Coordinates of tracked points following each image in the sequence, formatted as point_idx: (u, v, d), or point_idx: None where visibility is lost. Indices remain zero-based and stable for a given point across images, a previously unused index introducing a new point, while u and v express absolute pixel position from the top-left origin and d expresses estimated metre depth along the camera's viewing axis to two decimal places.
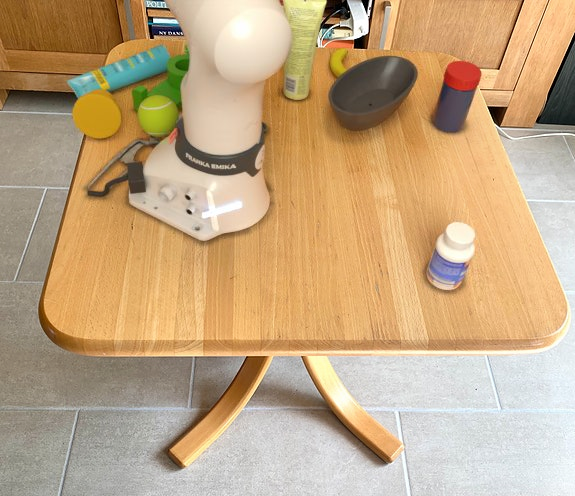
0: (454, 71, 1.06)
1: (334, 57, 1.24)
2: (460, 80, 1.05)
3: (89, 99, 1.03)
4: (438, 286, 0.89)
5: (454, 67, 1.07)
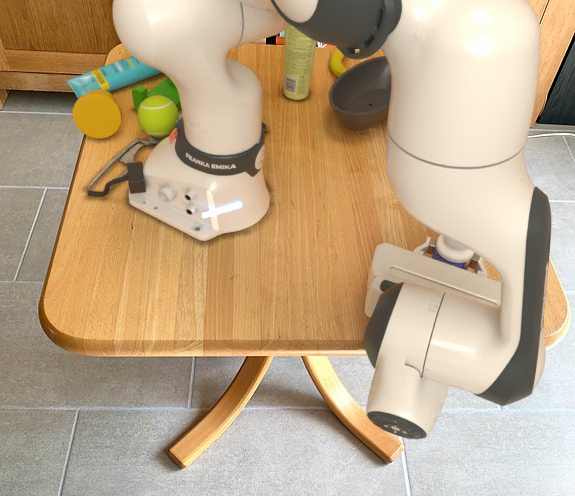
0: None
1: (334, 57, 1.24)
2: None
3: (89, 99, 1.03)
4: None
5: None
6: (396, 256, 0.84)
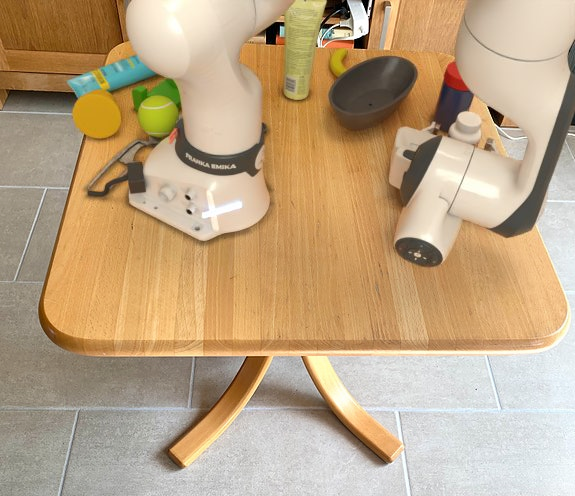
0: (454, 71, 1.06)
1: (334, 57, 1.24)
2: (460, 80, 1.05)
3: (89, 99, 1.03)
4: None
5: (454, 67, 1.07)
6: (415, 135, 1.00)
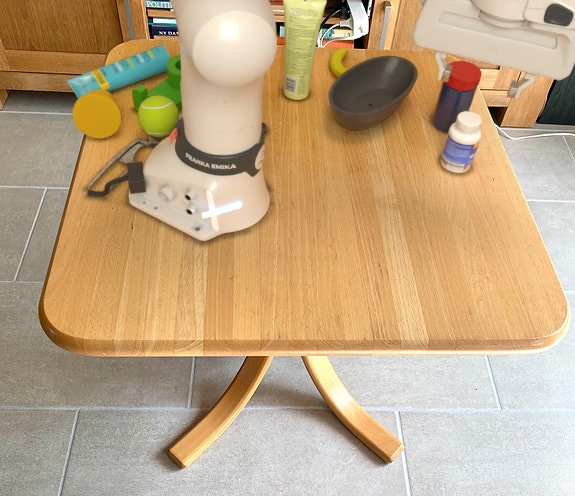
0: (454, 71, 1.06)
1: (334, 57, 1.24)
2: (460, 80, 1.05)
3: (89, 99, 1.03)
4: (451, 169, 1.06)
5: (454, 67, 1.07)
6: (547, 63, 0.76)
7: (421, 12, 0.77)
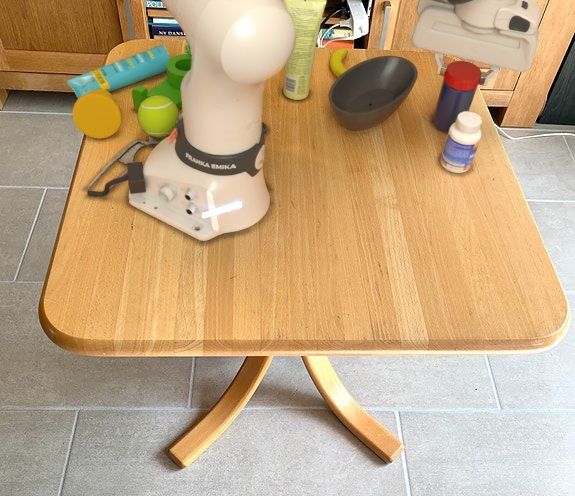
0: (454, 71, 1.06)
1: (334, 57, 1.24)
2: (460, 80, 1.05)
3: (89, 99, 1.03)
4: (451, 169, 1.06)
5: (454, 67, 1.07)
6: (513, 59, 1.01)
7: (418, 21, 1.02)
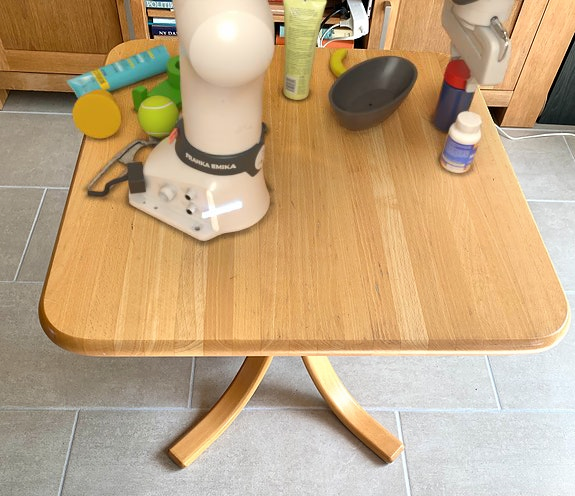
0: None
1: (334, 57, 1.24)
2: None
3: (89, 99, 1.03)
4: (451, 169, 1.06)
5: (466, 74, 1.06)
6: None
7: (508, 60, 0.95)
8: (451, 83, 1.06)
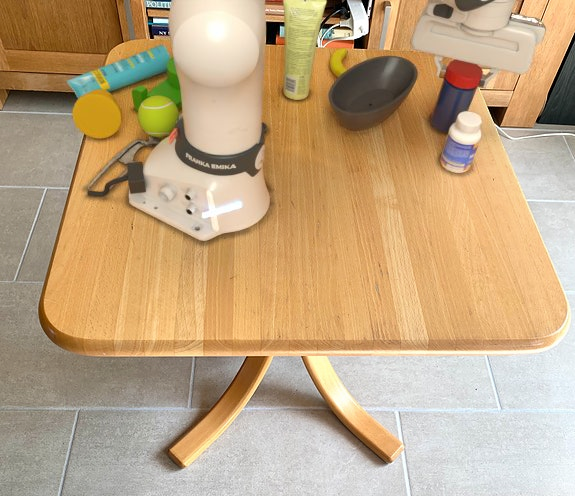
0: (475, 68, 1.07)
1: (334, 57, 1.24)
2: None
3: (89, 99, 1.03)
4: (451, 169, 1.06)
5: (475, 72, 1.06)
6: None
7: None
8: (470, 86, 1.06)
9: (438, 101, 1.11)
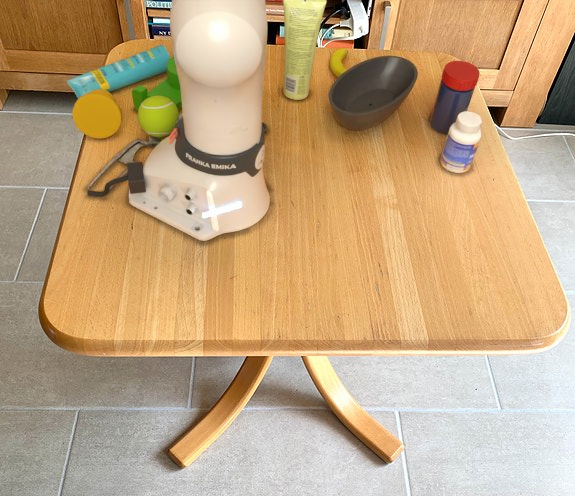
0: (471, 69, 1.07)
1: (334, 57, 1.24)
2: (464, 62, 1.08)
3: (89, 99, 1.03)
4: (451, 169, 1.06)
5: (472, 73, 1.06)
6: None
7: None
8: (467, 88, 1.06)
9: (436, 103, 1.11)
